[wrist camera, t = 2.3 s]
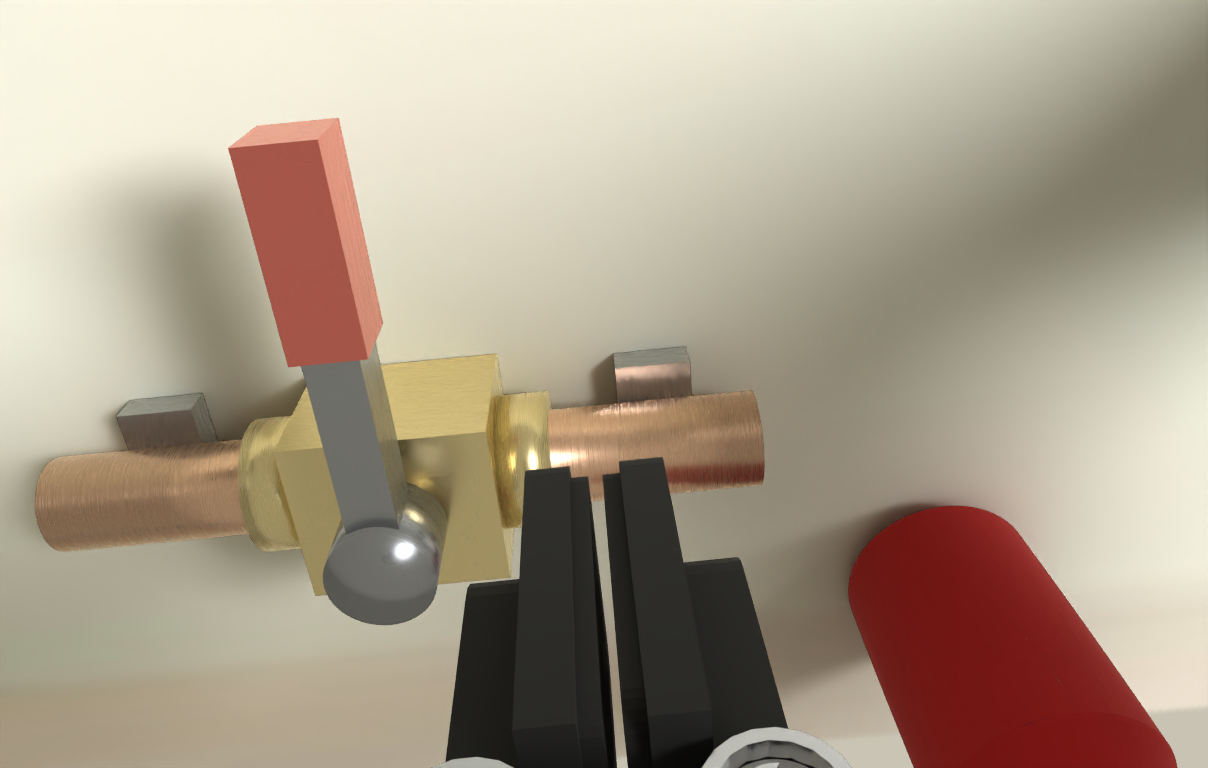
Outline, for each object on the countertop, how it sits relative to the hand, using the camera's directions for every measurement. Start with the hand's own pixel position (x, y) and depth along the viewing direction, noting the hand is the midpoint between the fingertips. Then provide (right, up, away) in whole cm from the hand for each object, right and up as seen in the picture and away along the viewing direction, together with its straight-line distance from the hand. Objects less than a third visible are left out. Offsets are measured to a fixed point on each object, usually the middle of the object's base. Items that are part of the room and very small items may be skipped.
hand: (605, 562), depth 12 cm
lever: (-6, +3, +13) cm, 15 cm away
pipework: (-6, +1, +20) cm, 21 cm away
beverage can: (+12, -5, +24) cm, 28 cm away
